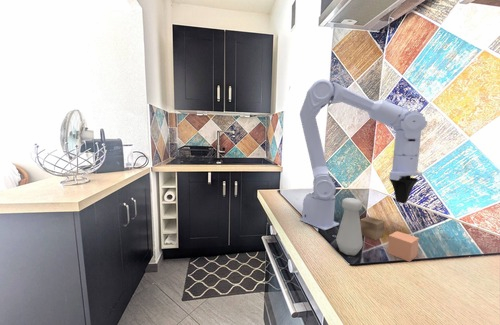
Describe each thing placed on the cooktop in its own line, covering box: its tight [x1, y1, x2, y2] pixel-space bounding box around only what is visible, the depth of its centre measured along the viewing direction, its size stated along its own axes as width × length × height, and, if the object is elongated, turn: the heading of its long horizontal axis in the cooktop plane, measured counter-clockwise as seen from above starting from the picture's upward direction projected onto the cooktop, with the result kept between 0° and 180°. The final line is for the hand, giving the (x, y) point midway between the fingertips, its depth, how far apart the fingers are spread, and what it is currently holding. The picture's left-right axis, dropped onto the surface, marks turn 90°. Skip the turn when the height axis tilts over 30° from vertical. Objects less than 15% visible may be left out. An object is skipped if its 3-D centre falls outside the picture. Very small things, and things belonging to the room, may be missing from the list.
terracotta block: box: [386, 230, 420, 263], centre depth 49 cm, size 4×4×4 cm
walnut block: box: [360, 216, 386, 241], centre depth 59 cm, size 4×4×4 cm
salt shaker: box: [335, 197, 364, 257], centre depth 50 cm, size 6×6×13 cm
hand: (401, 202), depth 60 cm, fingers closed
